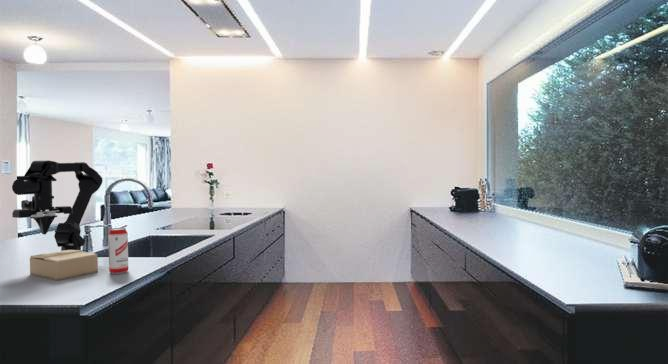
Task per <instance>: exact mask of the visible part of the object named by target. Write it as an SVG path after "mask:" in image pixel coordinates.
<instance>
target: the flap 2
mask: <svg viewBox="0 0 668 364" xmlns="http://www.w3.org/2000/svg"><path fill="white" fill-rule="evenodd" d="M91 256H98V253H93V252H89V251H88V252H87V251H82V252H77V253H71V254H65V255H59V256H53V257H47V258H44V260H47V261H52V262H57V263H58V262H64V261H69V260H75V259H80V258H86V257H91Z"/></svg>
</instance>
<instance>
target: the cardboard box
mask: <svg viewBox="0 0 668 364" xmlns="http://www.w3.org/2000/svg"><path fill="white" fill-rule="evenodd" d="M98 263H99V261H98V255H97V256H91V257H86V258H80V259H75V260H69V261H64V262H58V263H57V262H52V261H47V260H44V258H31V257H29V270H30V271H29V272H30V273H29V275H30V276H34V277H35V276H37V277H39V278H40V277H41V278H43V279H44V278H46V279H49V280H54V281H62V280H66V279H71V278H76V277H80V275H81V276H85V275H84V274H86V275H89V273H90V274H93V273H94V272H95V273H98V272H99V264H98ZM95 273H94V274H95Z"/></svg>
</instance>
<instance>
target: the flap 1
mask: <svg viewBox="0 0 668 364" xmlns="http://www.w3.org/2000/svg"><path fill="white" fill-rule="evenodd" d="M82 251H83V249H81V250H64V251H61V250H59V251H53V252H47V253H41V254H35V255H34V254H33V255H30V257H29V258H47V257H53V256H59V255H65V254H71V253H77V252H82ZM83 252H84V251H83Z"/></svg>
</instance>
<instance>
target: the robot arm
mask: <svg viewBox="0 0 668 364" xmlns="http://www.w3.org/2000/svg"><path fill="white" fill-rule="evenodd" d="M68 172H69V173H70V172H71V173H72V172H74V173H75V179H77V180H78V189H79V192H78V194H77V196H76V198H75V201H74V203H73V205H72V207H71V206H68V205H62V206H60V205H59V206H53V199H55V196H54V195H53V182H57V178H56V177H54V176H53V175H57V174H59V173H68ZM103 182H104V181H103V178H102V176H101V175H100V174H99V173H98V171H96V170H95V169H94V168H92V167H90V166H89V165H88V163H87V162H84V161H79V162H78V161H75V162H61V163H60V162H57V161H55V160H54V161H53V160H33V161H32V162H31V163H30V166H29V168H28V169H27V171H26V172H25V173H24V175H17V176H16V180H14V181H13V182H12V185H11V190H12V192H13V194H15V195H18V196H24V195H33V196H32V197H31V201H30V200H29V199H25V200H21V203H20V204H21V205H20V206H21V207H20V208H18V209H17V208H16V209H14V210H13V211H12V216H11V217H12V218H15V219H16V218H18V219H23V218H24V219H25V218H29V219H33V220H34V221H35V223H37V225H38V228H39V230H40V232H41V234H42V235H47V233H48V231H49V229H50V227H51V224H52V223H53V221H54V220H55V218H58V215H56V214H64V215H68V216H67V218H66V220H65V222H60V223H59V222H58V224H57V226H56V228H55V230H54V235H53V236H54V239H55V240H54V241H55V242H56V245H57V247H58V248H61V249H60V251H64V250H82V247H84V246H85V244H86V243H85V242H86V240H85V239H84V238H83V237H82V236H81V233H82V232H81V231H82V230H81V225H80V224H81V221H82V219H83V217H84V215H85V212H86V210H87V208H88V205H89V203H90V200H91V198H92V196H93V194H95V193H96V192H97V191H99V190H100V188H101V186H102V184H103Z"/></svg>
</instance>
